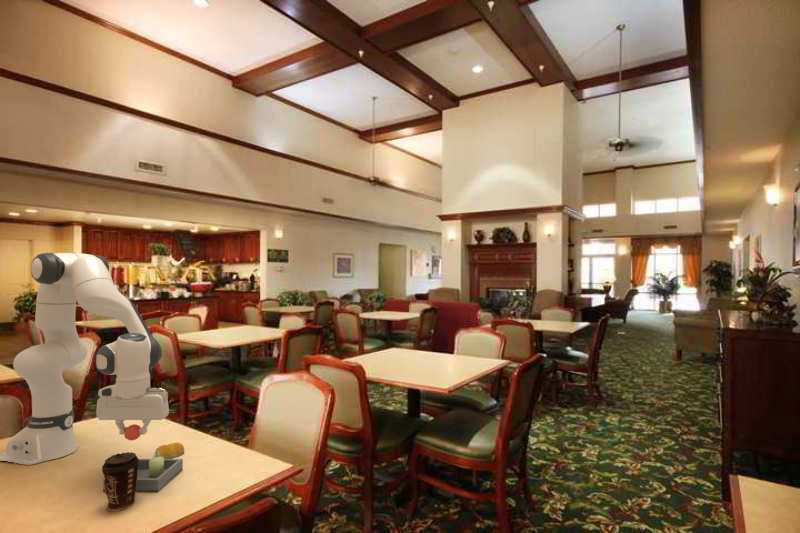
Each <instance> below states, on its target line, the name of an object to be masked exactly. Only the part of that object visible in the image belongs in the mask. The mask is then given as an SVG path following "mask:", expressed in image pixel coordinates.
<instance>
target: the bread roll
mask: <svg viewBox="0 0 800 533" xmlns="http://www.w3.org/2000/svg"><path fill="white" fill-rule="evenodd" d="M184 451H185V447H184V445H183V443H181V442H172V443H169V444H162V445H160V446H158V447H157V448H155V452H154V457H159V456H161V457H164V459H174V458H177V457H178V458H179V457H181V455H183V453H184Z"/></svg>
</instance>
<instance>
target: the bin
mask: <svg viewBox="0 0 800 533" xmlns="http://www.w3.org/2000/svg"><path fill="white" fill-rule="evenodd" d="M150 459H151V458H138V462H139V463H138V469H137V487H136V491H135V493H159V492H160V491H161V490H162V489H164V487H166V486H167V485H168V484H169V483H170V482H171V481H172V480H173V479H174V478H176V476H178V475H179V474H180V473H181V472H182V471H183V468H184V467H183V466H184V465H183V460H184V459H183V458H171V459H164V473H162V474H161V475H160V476H159V477H158V478H149V460H150ZM102 485H103V486H102V488H103V490H102V492H103V493H105V486H104V479H103V480H102Z"/></svg>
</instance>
